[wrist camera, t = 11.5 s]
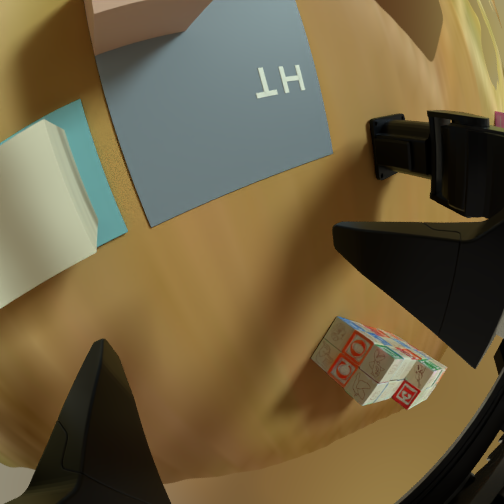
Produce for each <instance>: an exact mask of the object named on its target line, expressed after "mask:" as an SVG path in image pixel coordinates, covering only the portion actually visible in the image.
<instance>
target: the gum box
mask: <svg viewBox="0 0 504 504" xmlns="http://www.w3.org/2000/svg"><path fill="white" fill-rule="evenodd" d="M495 126H496V127H501V128H504V113H501V112H497V111H495Z"/></svg>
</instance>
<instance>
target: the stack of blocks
mask: <svg viewBox="0 0 504 504" xmlns="http://www.w3.org/2000/svg"><path fill="white" fill-rule="evenodd" d="M311 359H312V360H313V361H314V362H315V363H316V364H317V365H318V366H319V367H321V368H322V369H323V370H324V371H325V372H327V374H328V375H329V376H330V377H331V378H332V379H334V380H335V381H336V382H337V383H338V384H339V385H340V386H342V387H343V388H344V390H345V391H346V392H347V393H348V394H349V395H350V396H351V397H352V398H354V399H355V400H356V401H357V402H358V403H359V404H361V405H362V406H364V405H367V404H371V403H376V402H379V401H382V400H386V399H389V398H392V399H394V400H395V401H396V402H398V403H399V404H400V405H401V406H403V407H404V408H405V409H407V410H408V409H410V408H412V407H413V406H415V405H417V404H419V403H420V402H422V401H424V400H426V399H427V398H428V396H429V395H430V394H431V392H432V391H433V389H434V388H435V387H436V385H437V383H438V382H439V380H440V379H441V377H442V375H443V374H444V372H445V370H446V369H447V367H446V366H444V365H442V364H441V363H439V362H437V361H436V360H434V359H433V358H431V357H430V356H428V355H427V354H425V353H424V352H422V351H420V350H418V349H417V348H415V347H413V346H412V345H410V344H408V342H406V341H405V340H403V339H401V338H400V337H398V336H396V335H394V334H391V333H390V332H386V331H383V330H381V329H375V328H372V327H367V326H364V325H362V324H360V323H358V322H355V321H352V320H348V319H345V318H342V317H338V316H337V317H336V319H335V320H334V322H333V324H332V325H331V327H330V329H329V330H328V332H327V333H326V335H325V337H324V338H323V340H322V341H321V343H320V344H319V346H318V348H317V349H316V351H315V352H314V354H313V355H312V357H311Z"/></svg>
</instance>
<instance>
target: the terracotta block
mask: <svg viewBox="0 0 504 504" xmlns="http://www.w3.org/2000/svg"><path fill="white" fill-rule="evenodd" d="M212 1H213V0H84V4H85V10H86V16H87V21H88V26H89V32H90V36H91V41H92V46H93V50H94V55H95V56H96V55H99V54H101V53H104V52H107V51H110V50H113V49H116V48H119V47H122V46H125V45H129V44H132V43H136V42H139V41H143V40H147V39H151V38H155V37H159V36H163V35H168V34H173V33H178V32H183V31H186V30H187V29H188V27H189V26H190V25H191V24H192V23H193V22H194V20H195V19H196V18H197V17H198V16H199V15H200V14H201V13H202V11H203V10H204V9H205V8H206V7H207V6H208V5H209V4H210V3H211V2H212Z"/></svg>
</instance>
